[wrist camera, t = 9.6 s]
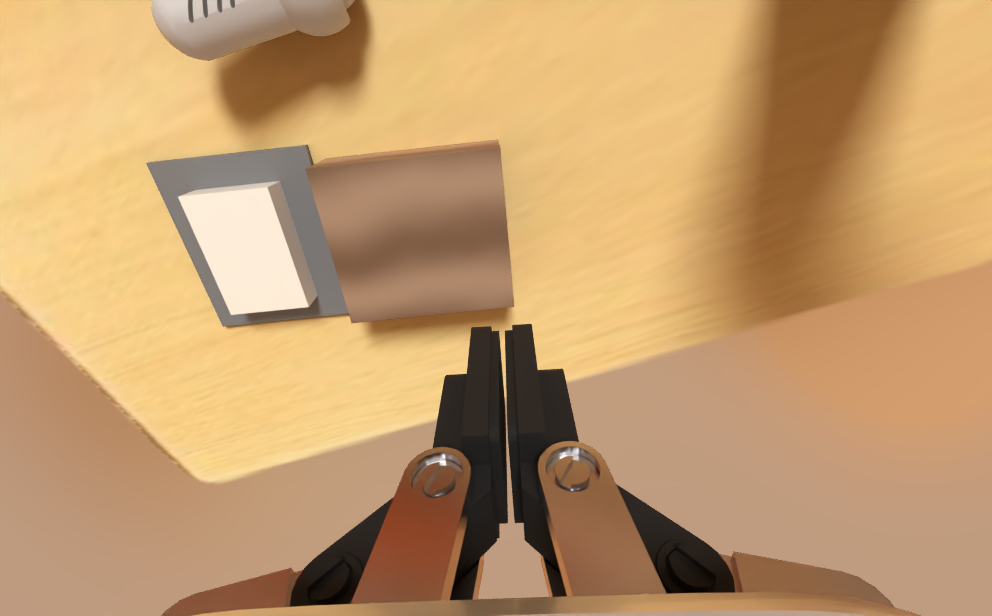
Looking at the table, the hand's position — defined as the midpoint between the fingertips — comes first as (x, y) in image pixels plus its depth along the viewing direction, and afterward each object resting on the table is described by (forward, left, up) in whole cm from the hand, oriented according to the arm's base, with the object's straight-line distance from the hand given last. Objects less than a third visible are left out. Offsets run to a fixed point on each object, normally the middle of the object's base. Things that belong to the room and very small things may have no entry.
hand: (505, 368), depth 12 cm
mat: (+2, -18, -22) cm, 28 cm away
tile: (+2, -18, -19) cm, 26 cm away
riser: (+2, -5, -21) cm, 22 cm away
